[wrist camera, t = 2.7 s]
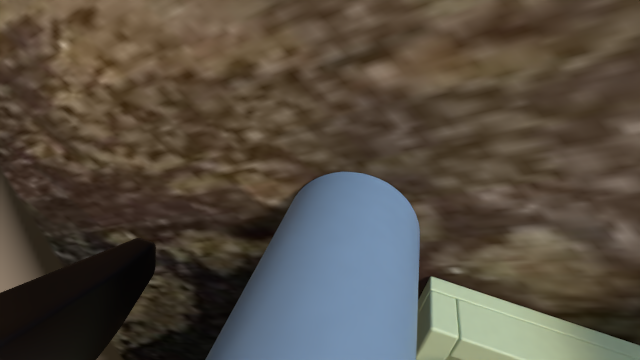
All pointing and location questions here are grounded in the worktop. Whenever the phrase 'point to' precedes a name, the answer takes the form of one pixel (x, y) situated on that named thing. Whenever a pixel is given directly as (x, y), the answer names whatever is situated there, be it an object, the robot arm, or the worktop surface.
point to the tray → (503, 330)
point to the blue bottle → (332, 279)
